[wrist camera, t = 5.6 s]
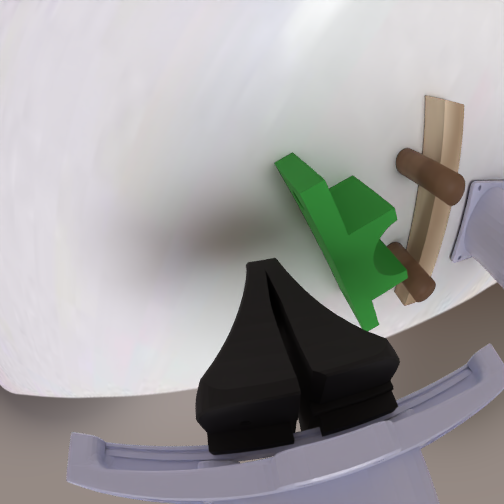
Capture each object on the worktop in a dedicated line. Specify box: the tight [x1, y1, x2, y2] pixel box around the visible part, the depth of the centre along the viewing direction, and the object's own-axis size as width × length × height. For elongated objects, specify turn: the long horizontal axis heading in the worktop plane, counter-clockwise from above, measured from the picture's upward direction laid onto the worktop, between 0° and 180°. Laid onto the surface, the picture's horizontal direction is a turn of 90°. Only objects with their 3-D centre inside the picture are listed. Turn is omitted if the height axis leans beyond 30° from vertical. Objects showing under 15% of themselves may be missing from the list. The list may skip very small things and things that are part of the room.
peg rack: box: [387, 96, 465, 306], centre depth 14 cm, size 4×16×4 cm, turn 6°
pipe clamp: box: [275, 153, 408, 331], centre depth 15 cm, size 11×4×5 cm, turn 31°
